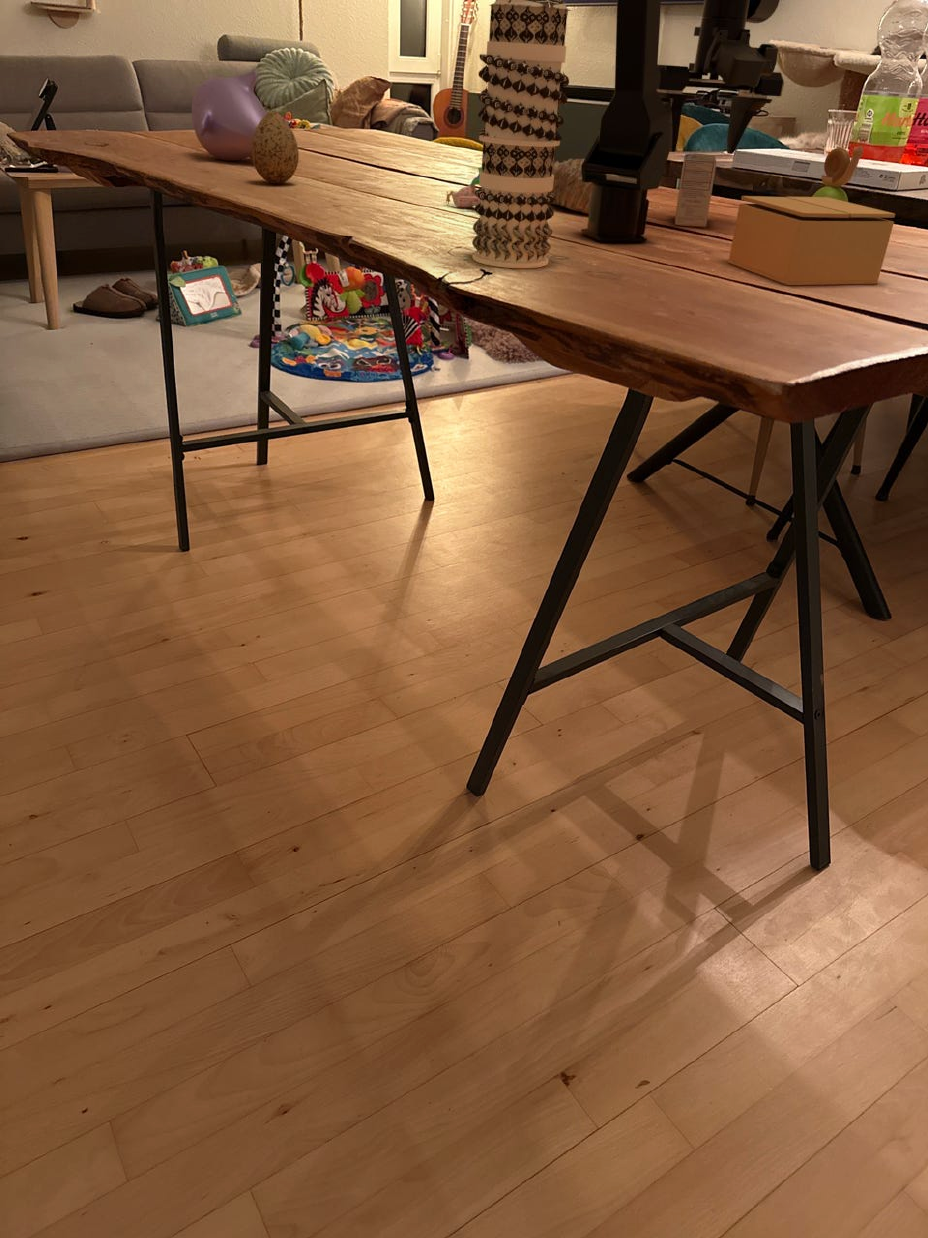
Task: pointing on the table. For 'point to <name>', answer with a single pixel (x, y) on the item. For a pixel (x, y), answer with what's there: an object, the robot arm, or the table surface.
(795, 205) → the flap
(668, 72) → the robot arm
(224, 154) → the toy whale
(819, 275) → the carton
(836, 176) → the snail figurine
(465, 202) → the pink radish
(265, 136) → the decorative egg
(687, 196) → the medicine box
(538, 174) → the bracelet display stand
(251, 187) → the table surface
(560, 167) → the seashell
